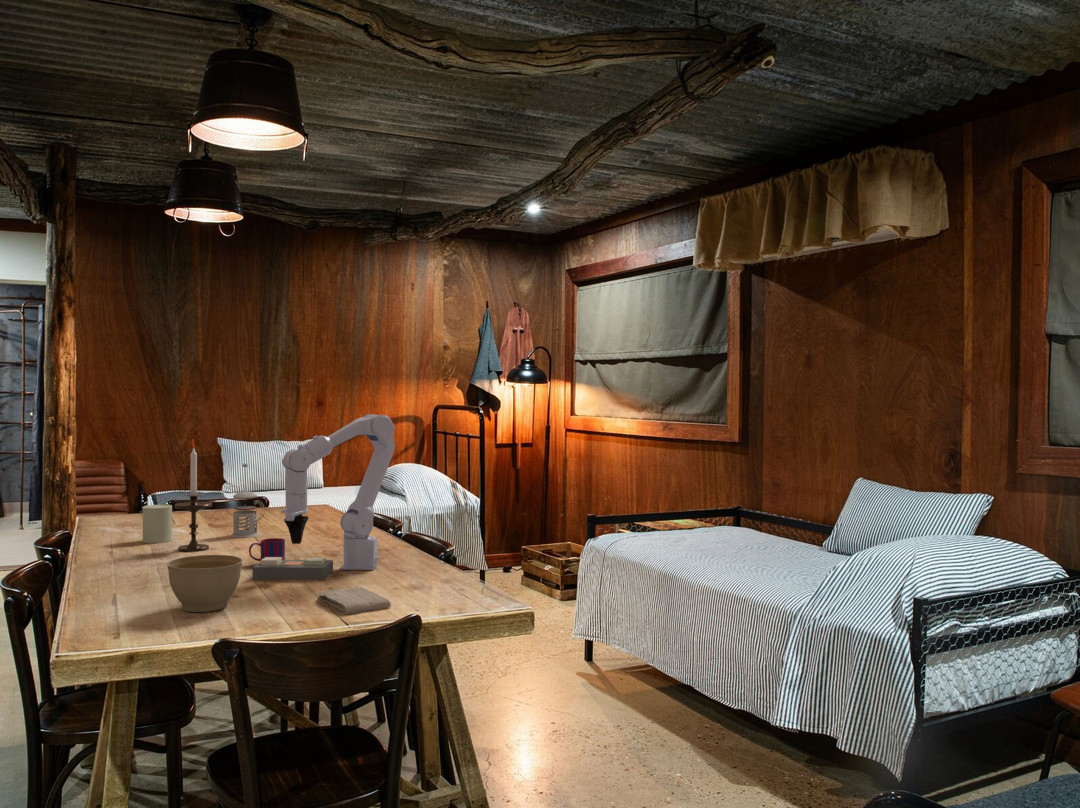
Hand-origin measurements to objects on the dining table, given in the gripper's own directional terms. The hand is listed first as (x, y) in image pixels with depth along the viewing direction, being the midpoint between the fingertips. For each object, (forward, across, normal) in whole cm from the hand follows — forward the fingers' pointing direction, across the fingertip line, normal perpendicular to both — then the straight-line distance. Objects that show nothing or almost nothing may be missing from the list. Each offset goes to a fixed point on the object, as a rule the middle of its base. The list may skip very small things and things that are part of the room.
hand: (296, 543), depth 238 cm
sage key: (+6, +2, +6) cm, 9 cm away
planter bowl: (+9, +37, -11) cm, 40 cm away
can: (+9, -53, -60) cm, 80 cm away
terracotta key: (+7, +2, 0) cm, 7 cm away
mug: (+9, -15, -13) cm, 22 cm away
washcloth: (+9, +32, +22) cm, 40 cm away
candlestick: (+9, -38, -42) cm, 57 cm away
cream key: (+6, +2, -6) cm, 9 cm away
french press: (+9, -64, -34) cm, 73 cm away
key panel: (+8, +2, 0) cm, 9 cm away
